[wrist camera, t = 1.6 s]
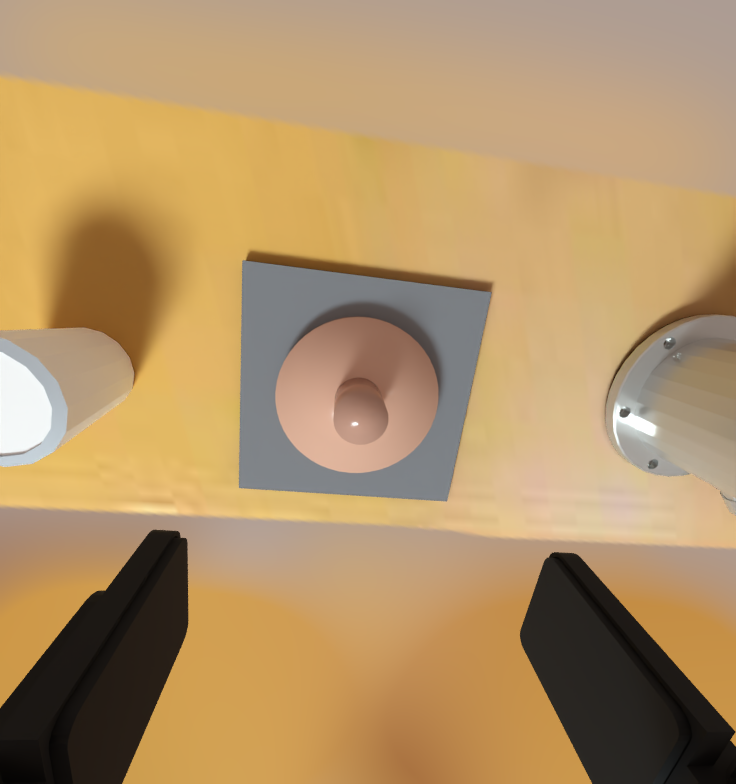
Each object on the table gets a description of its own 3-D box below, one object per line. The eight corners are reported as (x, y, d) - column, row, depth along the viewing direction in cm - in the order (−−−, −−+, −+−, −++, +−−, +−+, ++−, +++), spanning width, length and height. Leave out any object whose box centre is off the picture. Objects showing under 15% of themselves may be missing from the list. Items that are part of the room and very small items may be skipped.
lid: (463, 407, 25) (488, 432, 21) (345, 492, 27) (345, 532, 22) (372, 280, 22) (380, 279, 18) (243, 384, 24) (222, 406, 19)
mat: (487, 292, 24) (491, 292, 23) (444, 496, 28) (446, 501, 28) (245, 260, 22) (242, 260, 21) (241, 483, 27) (238, 487, 26)
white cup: (166, 375, 24) (96, 410, 17) (98, 436, 25) (8, 492, 18) (79, 294, 22) (-36, 299, 15) (10, 363, 23) (-127, 396, 16)
